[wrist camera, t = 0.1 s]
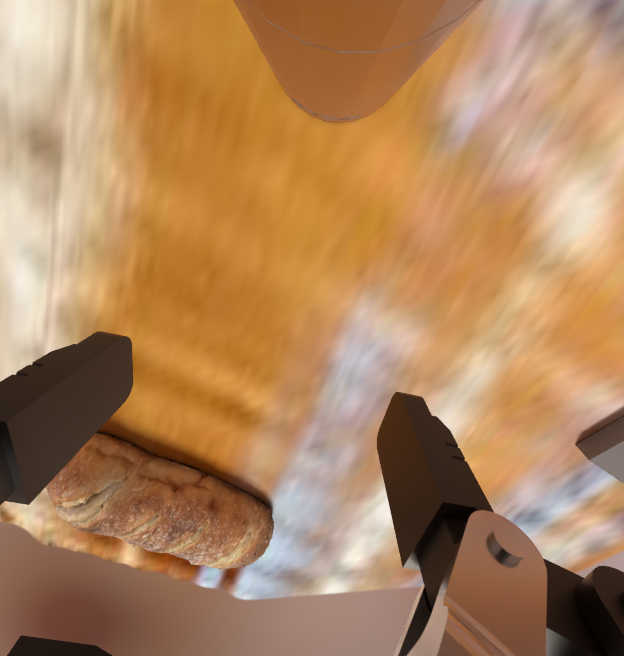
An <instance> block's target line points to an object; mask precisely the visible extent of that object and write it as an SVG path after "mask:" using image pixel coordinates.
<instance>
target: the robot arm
mask: <svg viewBox="0 0 624 656" xmlns="http://www.w3.org/2000/svg"><path fill="white" fill-rule="evenodd" d="M482 1H483V0H234V2H235V4H236V6H237V8H238V9H239V11H240V13H241V15H242V16H243V18H244V20H245V22H246V24H247V25H248V27H249V29H250V31H251V32H252V34H253V36H254V38H255V40H256V41H257V43H258V45H259V47H260V48H261V50H262V52H263V54H264V56H265V57H266V59H267V61H268V63H269V65H270V66H271V68H272V70H273V72H274V74H275V75H276V77H277V79H278V80H279V82H280V84H281V85H282V87H283V89H284V90H285V92H286V94H287V95H288V96H289V97H290V98H291V99H292V100H293V102H294V103H295V104H296V105H297V106H298V107H299V108H301V109H302V110H304V111H305V112H306V113H308V114H309V115H311V116H313V117H315V118H318V119H320V120H323V121H327V122H335V123H343V122H351V121H355V120H358V119H360V118H363V117H366V116H368V115H370V114H371V113H373V112H374V111H376V110H377V109H379V108H380V107H382V106H383V105H384V104H385V103H386V102H387V101H388V100H389V99H390V97H391V96H392V95H393V94H394V93H395V92H396V91H397V90H399V89H400V88H401V87H402V86H403V85H404V84H405V83H406V82H407V80H408V79H409V78H410V77H411V76H412V75H413V74H414V73H415V72H416V71H417V70H418V69H419V68H420V67H421V66H422V65H423V64H424V63H425V61H426V60H427V59H428V58H429V57H430V56H431V55H432V54H433V53H434V52H435V51H436V50H437V49H438V48H439V47H440V46H441V45H442V44H443V43H444V41H445V40H446V39H447V38H448V37H449V36H450V35H451V34H452V33H453V32H454V31H455V30H456V29H457V28H458V27H459V26H460V25H461V24H462V22H463V21H464V20H465V19H466V18H467V17H468V16H469V15H470V14H471V13H472V12H473V11H474V10H475V9H476V8H477V7H478V6H479V5H480V4H481V2H482ZM132 386H133V363H132V343H131V340H130V338H129V337H126V336H121V335H116V334H112V333H107V332H102V331H99V332H96V333H94V334H92V335H91V336H89V337H88V338H86V339H84V340H83V341H81V342H80V343H78V344H73V345H70V346H67V347H64V348H61V349H58V350H55V351H52V352H50V353H48V354H46V355H45V356H43V357H41V358H40V359H38V360H36V361H35V362H33V364H32V365H28V366H26V367H24V368H23V369H21V370H19V371H18V372H17V374H16V375H11V376H9V377H8V378H6V379H4V380H3V381H1V382H0V505H1V504H2V503H3V502H4V501H9V502H15V503H21V504H27V505H29V504H30V503H31V502H32V501H33V500H34V499H35V498H36V497H37V496H38V494H39V493H40V492H41V491H42V490H43V489H44V488H45V487H46V486H47V485H48V484H49V483H50V482H51V481H52V479H53V478H54V477H55V476H56V475H57V474H58V473H59V472H60V471H61V470H62V469H63V468H64V467H65V466H66V464H67V463H68V462H69V461H70V460H71V459H72V458H73V457H74V456H75V455H76V454H77V453H78V452H79V451H80V449H81V448H82V447H83V446H84V445H85V444H86V443H87V442H88V441H89V440H90V439H91V438H92V437H93V435H94V434H95V433H96V432H97V431H98V430H99V429H100V428H101V427H102V426H103V425H104V424H105V423H106V422H107V420H108V419H109V418H110V417H111V416H112V415H113V414H114V413H115V412H116V411H117V410H118V409H119V408H120V407H121V405H122V404H123V403H124V402H125V401H126V400H127V398H128V396H129V394H130V392H131V389H132ZM377 450H378V455H379V460H380V464H381V469H382V474H383V478H384V483H385V487H386V492H387V497H388V501H389V506H390V511H391V515H392V520H393V524H394V529H395V534H396V538H397V543H398V548H399V552H400V557H401V561H402V566H403V568H408V569H414V570H420V571H421V574H422V578H423V582H424V584H423V585H422V587H421V588H420V590H419V593H418V595H417V598H416V601H415V603H414V605H413V608H412V611H411V613H410V616H409V618H408V621H407V623H406V626H405V628H404V631H403V634H402V636H401V639H400V641H399V644H398V646H397V649H396V652H395V654H394V656H624V572H622V571H620V570H617V569H615V568H612V567H607V566H599V567H597V568H595V569H594V570H593V571H592V572H591V573H590V574H588V575H587V576H586V577H585V578H583V577H581V576H579V575H577V574H575V573H573V572H570V571H568V570H566V569H564V568H562V567H560V566H558V565H556V564H554V563H552V562H550V561H548V560H545V559H543V558H542V556H541V554H540V552H539V551H538V549H537V548H536V546H535V545H534V543H533V542H532V541H531V540H530V539H529V537H528V536H527V535H526V534H525V533H524V532H523V531H522V530H521V529H519V528H518V527H517V526H516V525H515V524H513V523H512V522H511V521H509V520H508V519H506V518H504V517H503V516H501V515H499V514H496V513H494V512H493V510H492V508H491V506H490V504H489V502H488V500H487V499H486V497H485V495H484V493H483V491H482V489H481V487H480V485H479V484H478V482H477V480H476V478H475V476H474V474H473V472H472V471H471V469H470V467H469V465H468V463H467V462H466V461H465V460H464V459H465V458H464V456H463V454H462V452H461V450H460V448H458V445H457V443H456V441H455V439H454V437H453V435H452V433H451V431H450V430H449V429H448V428H447V427H446V426H445V425H444V424H443V423H442V422H441V421H440V420H439V419H438V417H436V416H432V415H431V413H430V411H429V409H428V407H427V405H426V403H425V401H424V399H423V398H422V397H420V396H415V395H411V394H406V393H401V392H396V393H395V394H394V395H393V397H392V399H391V402H390V404H389V406H388V409H387V411H386V414H385V416H384V419H383V421H382V424H381V426H380V428H379V432H378V437H377ZM7 656H112V655H110V654H109V653H107V652H106V651H104V650H102V649H100V648H99V647H97V646H94V645H87V644H80V643H72V642H65V641H57V640H51V639H43V638H35V637H28V636H20V638H19V639H18V641H17V642H16V644H15V645H14V647H13V648H12V649H11V651H10V652H9V654H8V655H7Z"/></svg>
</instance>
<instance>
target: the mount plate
mask: <svg viewBox="0 0 624 656" xmlns="http://www.w3.org/2000/svg"><path fill="white" fill-rule="evenodd" d="M576 446H577V447H578V448H579V449H580V450H581V451H582V453H583V454H584V455H585V456H586V457H587V458H588V459H589V460H590V461H591V462H593V463H594V464H596V465H597V466H599V467H600V468H602V469H603V470H605V471H606V472H608V473H609V474H611V475H612V476H614V477H615V478H617V479H618V480H620V481H621V482H623V483H624V416H623V417H621V418H619V419H618V420H616V421H614V422H613V423H611V424H609V425H608V426H606V427H604V428H603V429H601V430H599V431H598V432H596V433H594V434H593V435H591V436H589V437H588V438H586V439H584V440H583V441H581V442H579V443H578V444H576Z"/></svg>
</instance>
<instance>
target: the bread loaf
mask: <svg viewBox="0 0 624 656" xmlns="http://www.w3.org/2000/svg"><path fill="white" fill-rule="evenodd" d="M46 488H47V491H48V494H49V497H50V499H51V501H52V503H53V505H54V506H55V507H56V510H57V513H58V514H59V516H60V517H61V519H63V520H64V521H67V522H69V523H70V524H71V525H72V526H73V527H75V528H77V529H79V530H82V531H87V532H91V533H94V534H100V535H105V536H109V537H110V536H113V538H114V537H117V538H120V539H122V540H124V541H126V542H128V543H129V544H134V545H138V546H140V547H142V548H144V549H145V550H148V551H151V552H159V553H169V554H172V555H175V556H177V557H182V558H184V559H187V560H189V561H190V563H191V565H206V566H207V567H208V566H209V567H213V568H218V569H220V570H222V569H227V568H235V567H243V566H244V567H245V566H247V565H250V564H252V563H253V562H255V561H256V560H257V559H259V557H261V556H262V555H263V554H264V552H265V551H266V549H267V547H268V546H269V543H270V540H271V538H272V534H273V529H274V521H273V518H272V514H271V509H269V507H268V506H267V505H265V503H263V502H262V501H260V500H259V499H257V497H253V496H251V495H249V494H247V493H245V492H243V491H241V490H239V489H237V488H236V487H234V486H232V485H230V484H228V483H226V482H224V481H222V480H220V479H219V478H217V477H215V476H214V475H210V474H209V475H206V474H205V473H203V471H202V470H200V469H197V468H193V467H191V466H188V467H186V465H184V464H181V463H179V462H175V461H171V460H170V459H165V458H162V457H158V456H155V455H153V454H150V453H148V452H147V451H145V450H143V449H141V448H139V447H138V446H135V445H133V444H131V443H128V442H126V441H124V440H123V439H121V438H120V437H111V436H110V434H106V433H101V432H99V433H98V432H96V433H95V434H94V435H93V437H92V438H91V439H90V440H89V441H88V442H87V443H86V444H85V445H84V446H83V447H82V448H81V449H80V451H79V452H78V453H77V454H76V455H75V456H74V457H73V458H72V459H71V460H70V461H69V462H68V463H67V464H66V466H65V467H64V468H63V469H62V470H61V471H60V472H59V473H58V474H57V475H56V476H55V477H54V478H53V479H52V481H51V482H50V483H49V484H48V485H47V486H46ZM130 546H131V545H130ZM132 546H133V545H132ZM134 547H135V546H134Z"/></svg>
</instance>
